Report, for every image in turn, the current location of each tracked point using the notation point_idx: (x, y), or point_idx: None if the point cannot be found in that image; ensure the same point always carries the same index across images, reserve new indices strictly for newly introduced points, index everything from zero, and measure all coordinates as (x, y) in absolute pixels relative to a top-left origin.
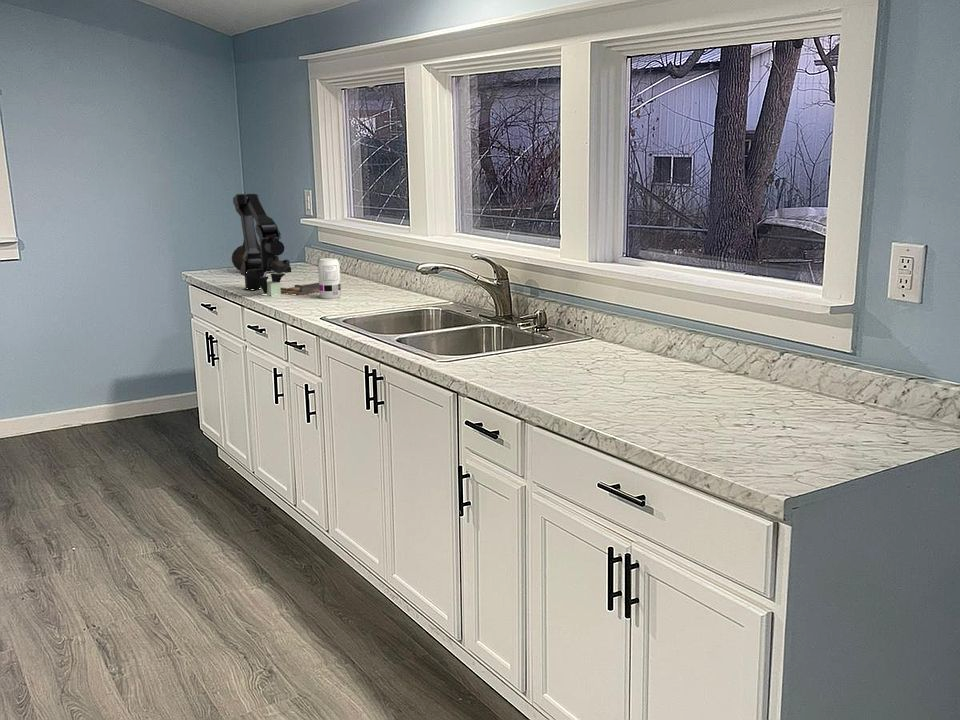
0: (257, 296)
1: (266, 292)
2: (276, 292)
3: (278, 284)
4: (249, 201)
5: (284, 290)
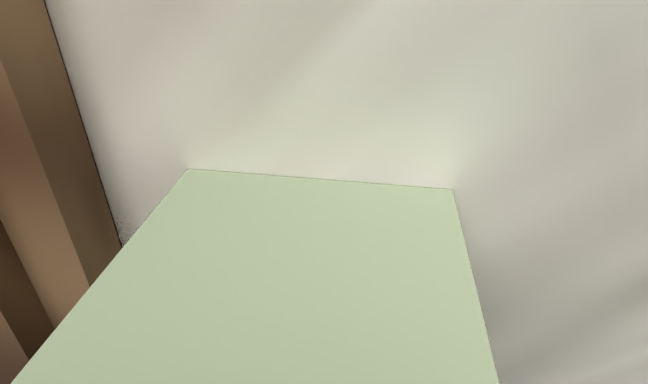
0: (533, 375)
1: None
2: (289, 214)
3: (109, 369)
4: None
5: (13, 238)
